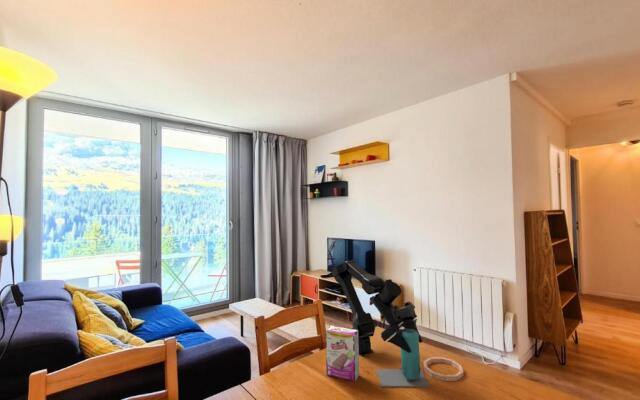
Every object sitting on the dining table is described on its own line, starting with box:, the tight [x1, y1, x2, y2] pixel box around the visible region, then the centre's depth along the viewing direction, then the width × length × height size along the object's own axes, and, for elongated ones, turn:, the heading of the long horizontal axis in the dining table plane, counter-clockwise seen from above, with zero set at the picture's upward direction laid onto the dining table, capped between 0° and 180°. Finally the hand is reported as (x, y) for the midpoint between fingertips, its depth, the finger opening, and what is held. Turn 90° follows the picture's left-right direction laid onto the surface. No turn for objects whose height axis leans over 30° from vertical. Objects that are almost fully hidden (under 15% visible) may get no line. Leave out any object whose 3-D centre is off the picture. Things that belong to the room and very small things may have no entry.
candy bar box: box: [325, 325, 360, 383], centre depth 108 cm, size 11×5×16 cm, turn 65°
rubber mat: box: [376, 368, 431, 388], centre depth 105 cm, size 16×10×1 cm, turn 87°
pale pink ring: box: [423, 356, 464, 382], centre depth 109 cm, size 13×14×2 cm
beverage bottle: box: [400, 319, 422, 379], centre depth 104 cm, size 6×7×20 cm
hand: (416, 347), depth 104 cm, fingers open, 9 cm apart
